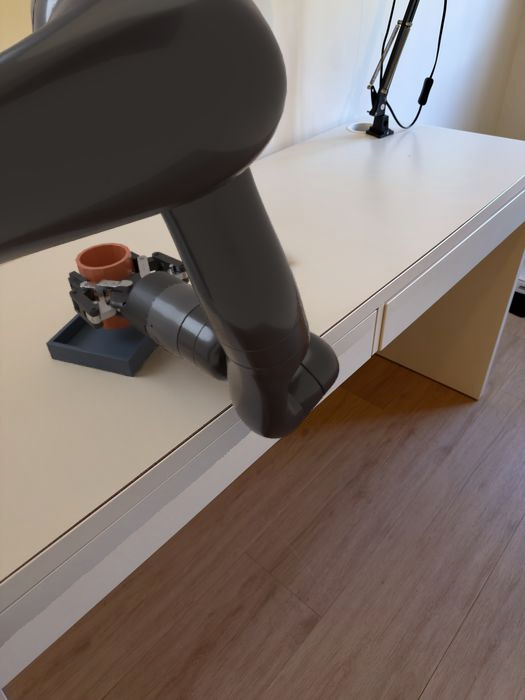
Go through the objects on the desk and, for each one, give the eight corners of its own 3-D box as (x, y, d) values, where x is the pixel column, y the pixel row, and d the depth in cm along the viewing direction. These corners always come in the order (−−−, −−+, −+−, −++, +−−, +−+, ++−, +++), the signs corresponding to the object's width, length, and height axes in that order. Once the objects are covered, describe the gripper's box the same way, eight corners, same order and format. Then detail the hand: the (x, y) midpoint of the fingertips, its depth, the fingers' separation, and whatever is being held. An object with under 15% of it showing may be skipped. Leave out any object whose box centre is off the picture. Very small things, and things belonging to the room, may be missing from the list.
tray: (132, 377, 65) (128, 361, 64) (51, 358, 69) (45, 343, 67) (186, 309, 76) (184, 294, 75) (114, 296, 80) (110, 282, 78)
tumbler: (127, 333, 67) (110, 272, 62) (84, 325, 69) (64, 265, 64) (152, 305, 72) (139, 246, 66) (111, 298, 74) (95, 240, 68)
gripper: (222, 261, 60) (138, 220, 69) (114, 316, 52) (36, 263, 62) (228, 315, 65) (148, 270, 74) (130, 373, 57) (55, 315, 66)
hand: (98, 267), depth 68 cm, fingers closed on tumbler, 6 cm apart
